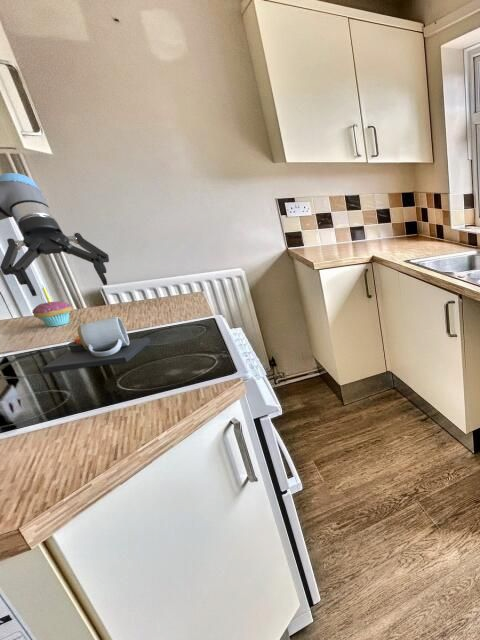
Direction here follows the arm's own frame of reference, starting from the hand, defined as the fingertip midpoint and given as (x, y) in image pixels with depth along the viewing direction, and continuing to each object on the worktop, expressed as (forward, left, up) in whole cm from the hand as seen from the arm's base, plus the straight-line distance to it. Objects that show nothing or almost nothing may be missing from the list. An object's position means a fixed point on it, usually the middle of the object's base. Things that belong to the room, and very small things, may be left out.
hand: (71, 287), depth 111 cm
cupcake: (-19, +23, -16) cm, 34 cm away
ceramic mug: (+9, -12, -14) cm, 21 cm away
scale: (+7, -13, -16) cm, 21 cm away
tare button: (+2, -8, -13) cm, 15 cm away
